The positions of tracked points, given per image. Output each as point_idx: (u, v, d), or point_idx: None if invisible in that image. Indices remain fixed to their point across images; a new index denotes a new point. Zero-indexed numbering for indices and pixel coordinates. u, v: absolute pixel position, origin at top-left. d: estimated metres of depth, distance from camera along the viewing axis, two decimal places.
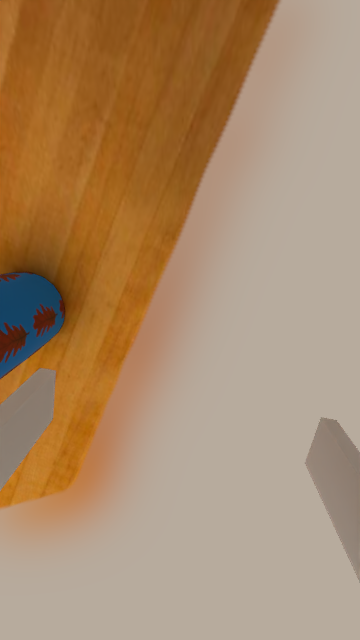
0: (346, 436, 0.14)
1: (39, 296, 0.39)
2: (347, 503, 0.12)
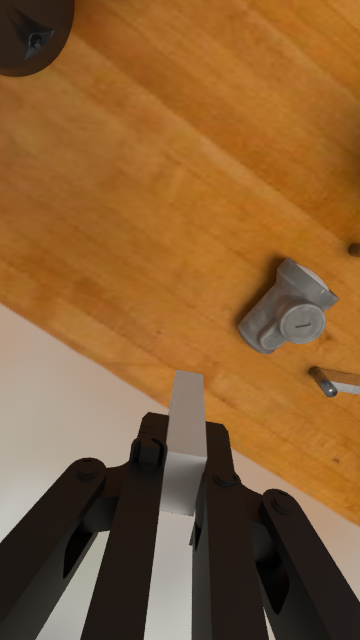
0: (201, 385, 0.16)
1: None
2: None
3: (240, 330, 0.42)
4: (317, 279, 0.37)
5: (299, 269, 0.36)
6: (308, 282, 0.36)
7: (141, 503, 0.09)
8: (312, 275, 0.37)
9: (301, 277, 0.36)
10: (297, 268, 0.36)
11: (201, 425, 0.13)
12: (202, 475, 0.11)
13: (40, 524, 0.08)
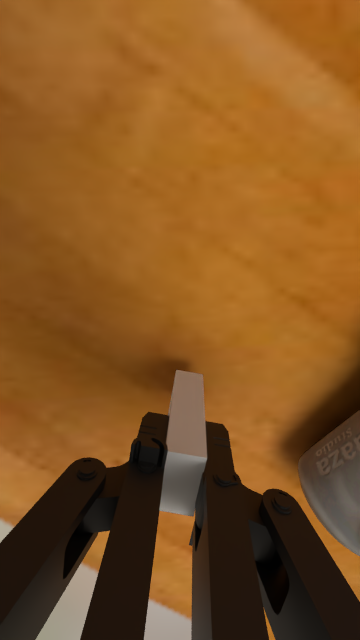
0: (201, 385, 0.16)
1: None
2: None
3: (309, 495, 0.17)
4: None
5: None
6: None
7: (141, 503, 0.09)
8: None
9: None
10: None
11: (201, 425, 0.13)
12: (202, 475, 0.11)
13: (40, 524, 0.08)
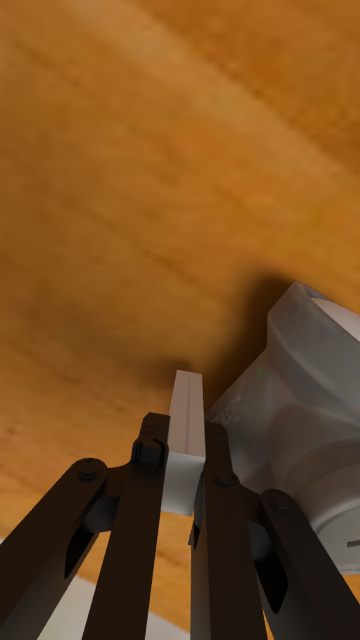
0: (200, 384, 0.16)
1: None
2: None
3: None
4: None
5: (346, 339, 0.11)
6: None
7: (142, 503, 0.09)
8: None
9: (355, 367, 0.11)
10: (338, 334, 0.11)
11: (200, 425, 0.13)
12: (200, 475, 0.11)
13: (42, 524, 0.08)
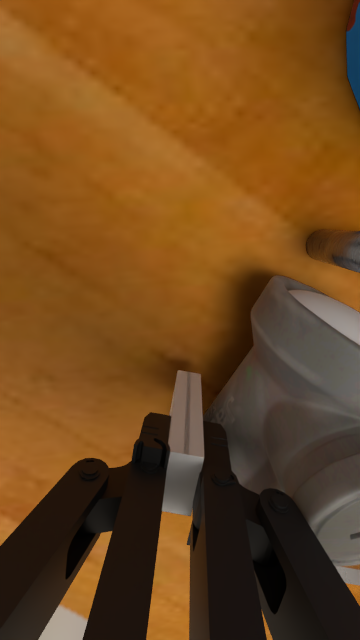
0: (199, 384, 0.16)
1: None
2: None
3: None
4: None
5: (326, 331, 0.11)
6: None
7: (143, 503, 0.09)
8: None
9: (338, 359, 0.11)
10: (318, 328, 0.11)
11: (199, 425, 0.13)
12: (199, 475, 0.11)
13: (43, 524, 0.08)
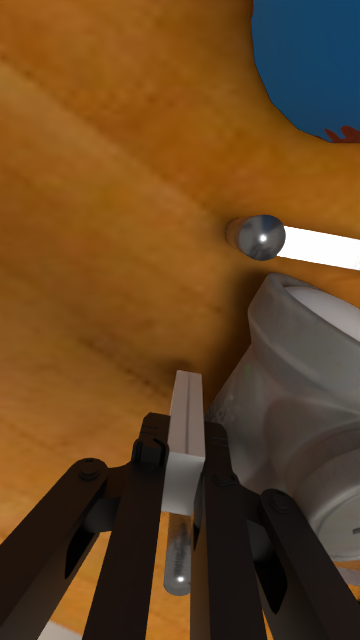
0: (200, 384, 0.16)
1: None
2: None
3: None
4: None
5: (323, 327, 0.11)
6: None
7: (143, 503, 0.09)
8: None
9: (336, 354, 0.11)
10: (315, 323, 0.11)
11: (199, 425, 0.13)
12: (200, 475, 0.11)
13: (42, 524, 0.08)
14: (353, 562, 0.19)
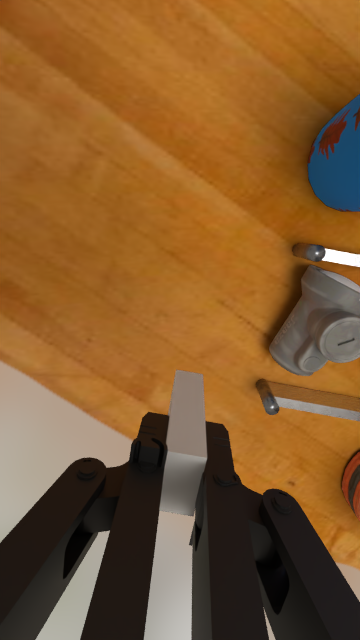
0: (201, 385, 0.16)
1: None
2: None
3: (273, 354, 0.37)
4: (351, 284, 0.32)
5: (328, 278, 0.32)
6: (342, 291, 0.31)
7: (141, 503, 0.09)
8: (344, 281, 0.32)
9: (332, 287, 0.31)
10: (325, 277, 0.32)
11: (201, 425, 0.13)
12: (202, 475, 0.11)
13: (40, 524, 0.08)
14: (352, 409, 0.39)
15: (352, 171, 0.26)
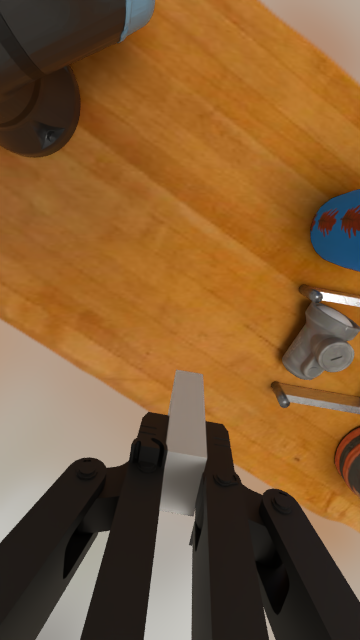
0: (201, 385, 0.16)
1: (352, 191, 0.43)
2: None
3: (285, 364, 0.52)
4: (340, 318, 0.47)
5: (324, 314, 0.46)
6: (333, 323, 0.46)
7: (141, 503, 0.09)
8: (335, 315, 0.47)
9: (327, 320, 0.46)
10: (322, 313, 0.46)
11: (201, 425, 0.13)
12: (202, 475, 0.11)
13: (40, 524, 0.08)
14: (341, 403, 0.54)
15: (339, 251, 0.40)
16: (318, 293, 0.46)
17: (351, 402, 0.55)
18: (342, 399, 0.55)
